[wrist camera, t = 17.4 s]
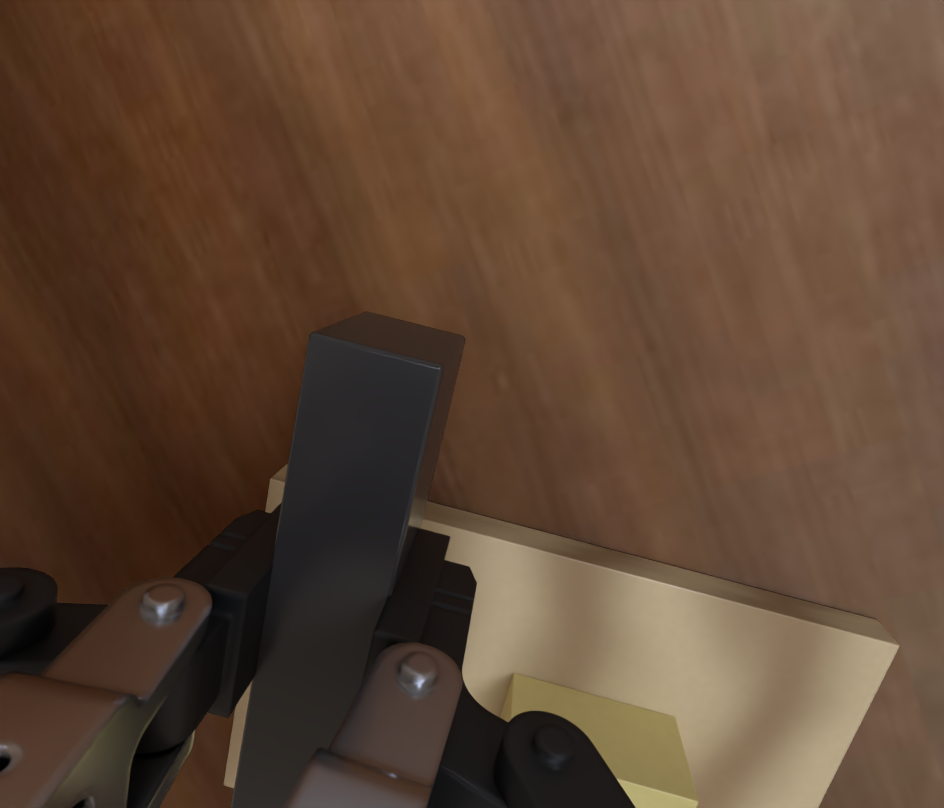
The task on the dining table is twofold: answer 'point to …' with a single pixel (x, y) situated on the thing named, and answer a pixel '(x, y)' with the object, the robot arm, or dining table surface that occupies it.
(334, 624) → the screwdriver
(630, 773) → the butter
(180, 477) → the dining table surface
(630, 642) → the board
